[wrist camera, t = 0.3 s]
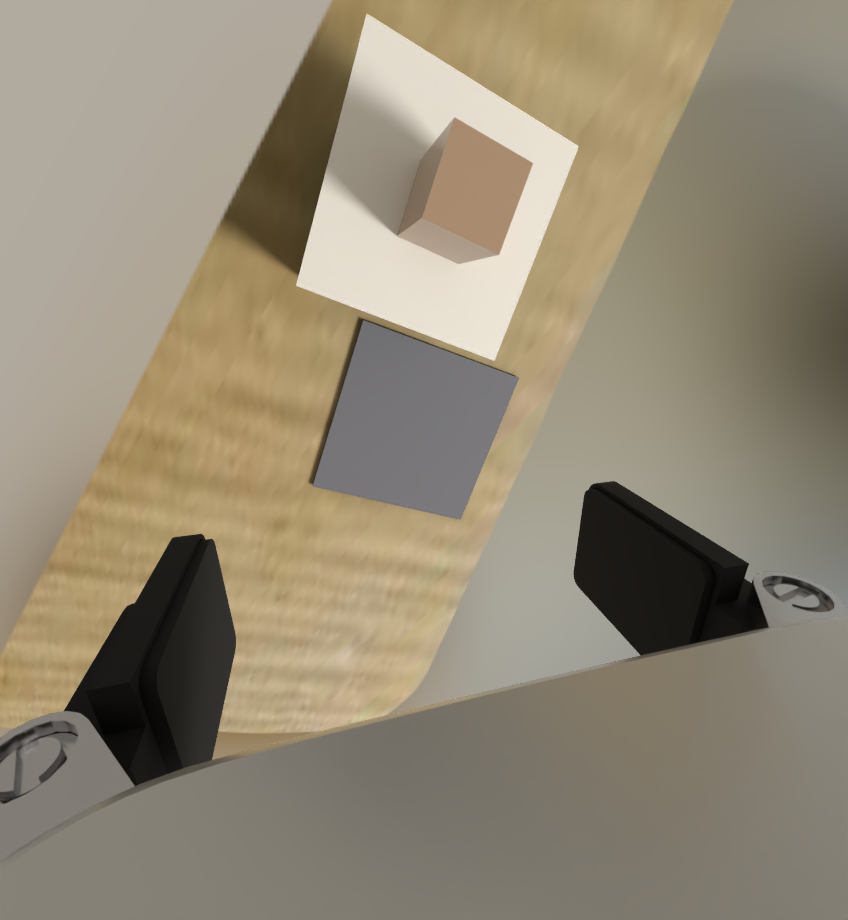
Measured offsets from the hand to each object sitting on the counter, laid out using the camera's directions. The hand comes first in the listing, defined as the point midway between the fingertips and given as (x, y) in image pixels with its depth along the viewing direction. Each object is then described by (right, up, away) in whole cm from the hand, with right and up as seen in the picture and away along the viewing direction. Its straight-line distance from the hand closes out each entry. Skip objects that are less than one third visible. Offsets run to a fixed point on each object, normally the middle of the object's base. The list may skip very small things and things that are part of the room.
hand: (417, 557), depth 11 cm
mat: (-1, +5, +31) cm, 31 cm away
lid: (+1, +17, +15) cm, 23 cm away
